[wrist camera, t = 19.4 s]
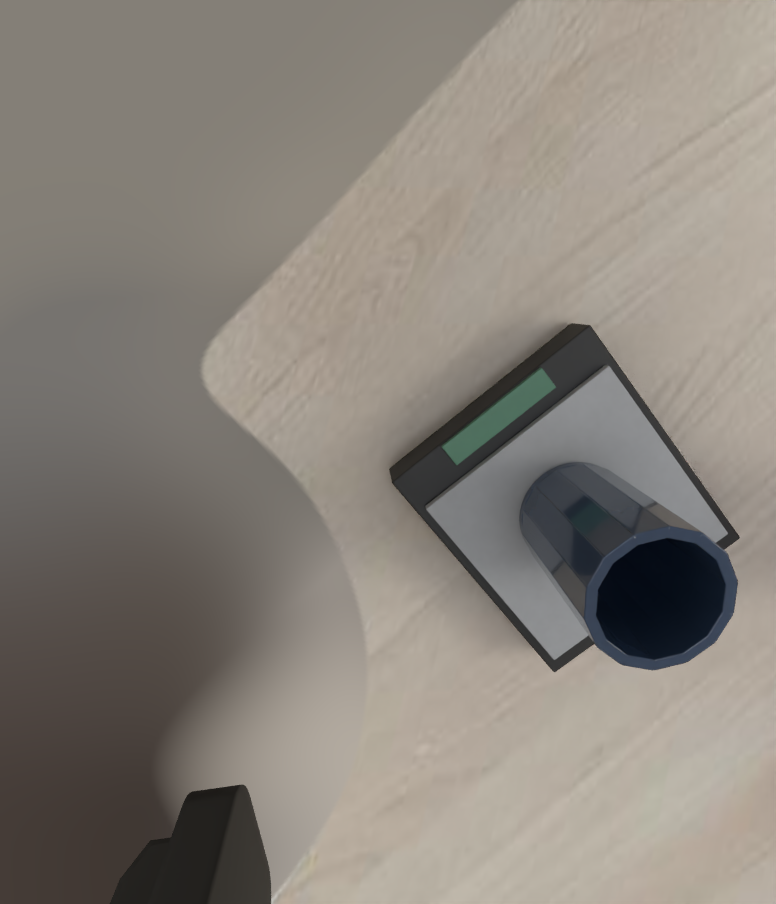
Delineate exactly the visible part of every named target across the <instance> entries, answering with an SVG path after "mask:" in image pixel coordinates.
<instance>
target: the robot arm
mask: <svg viewBox="0 0 776 904" xmlns="http://www.w3.org/2000/svg"><path fill="white" fill-rule="evenodd" d="M110 904H271V880H270V871H269V866H268V861H267V857H266V854H265V850H264V846H263V843H262V839H261V835H260V831H259V828H258V824H257V821H256V817H255V813H254V809H253V806H252V802H251V798H250V795H249V792H248V790H247V788H246V786H244V785H236V786H229V787H222V788H216V789H208V790H201V791H194V792H191V793H189V794H188V795H187V797H186V799H185V801H184V803H183V806H182V808H181V811H180V814H179V817H178V820H177V822H176V825H175V828H174V831H173V834H172V837H171V838H165V839H158V840H151V841H150V842H149V843H148V844H147V845H146V847H145V848H144V849H143V851H142V852H141V853H140V854H139V856H138V857H137V858H136V860H135V861H134V862H133V863H132V865H131V866H130V867H129V868H128V870H127V871H126V872H125V874H124V875H123V876H122V877H121V879H120V881H119V883H118V886H117V888H116V890H115V893H114V895H113V897H112V900H111V902H110Z"/></svg>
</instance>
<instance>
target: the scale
mask: <svg viewBox="0 0 776 904" xmlns="http://www.w3.org/2000/svg"><path fill="white" fill-rule="evenodd" d="M571 462H587V463H592V464H596V465H599V466H601V467H603V468H606V469H608V470H610V471H611V472H613V473H614V474H616V475H617V476H619V477H620V478H622V479H623V480H625V481H626V482H628V483H629V484H631V485H632V486H634V487H635V488H637V489H638V490H640V491H641V492H643V493H644V494H646V495H647V496H649V497H650V498H652V499H653V500H655V501H656V502H658V503H659V504H661V505H662V506H664V507H665V508H667V509H668V510H670V511H671V512H673V513H674V514H676V515H677V516H679V517H680V518H682V519H683V520H685V521H686V522H688V523H689V524H691V525H692V526H694V527H695V528H697V529H698V530H700V531H701V532H703V533H704V534H705V535H707V536H708V537H709V538H710V539H711V540H713V541H714V542H715V543H716V544H718V545H719V546H720V547H721V548H722V549H726V548H727V547H728V546H730V545H731V544H732V543H734V542H735V541H737V540H738V539H739V536H738V534H737V533H736V531H735V530H734V529H733V527H732V526H731V524H730V523H729V521H728V520H727V519H726V517H725V516H724V514H723V513H722V511H721V510H720V509H719V507H718V506H717V504H716V503H715V502H714V500H713V499H712V497H711V496H710V494H709V493H708V492H707V490H706V489H705V487H704V486H703V485H702V483H701V482H700V480H699V479H698V477H697V476H696V475H695V473H694V472H693V470H692V469H691V468H690V466H689V465H688V463H687V462H686V460H685V459H684V458H683V456H682V455H681V453H680V452H679V451H678V449H677V448H676V446H675V445H674V443H673V442H672V441H671V439H670V438H669V436H668V435H667V434H666V432H665V431H664V429H663V428H662V426H661V425H660V424H659V422H658V421H657V419H656V418H655V417H654V415H653V414H652V412H651V411H650V409H649V408H648V407H647V405H646V404H645V402H644V401H643V400H642V398H641V397H640V395H639V394H638V392H637V391H636V390H635V388H634V387H633V385H632V384H631V382H630V381H629V380H628V378H627V377H626V375H625V374H624V373H623V371H622V370H621V368H620V367H619V365H618V364H617V363H616V361H615V360H614V358H613V357H612V356H611V354H610V353H609V351H608V350H607V348H606V347H605V346H604V344H603V343H602V341H601V340H600V339H599V337H598V336H597V334H596V333H595V331H594V330H593V329H592V327H591V326H590V325H582V324H573V323H572V324H570V325H569V326H568V327H567V328H565V329H564V330H563V331H562V332H560V333H559V334H558V335H556V336H555V337H554V338H553V339H551V340H550V341H549V342H548V343H546V344H545V345H544V346H543V347H541V348H540V349H539V350H538V351H536V352H535V353H534V354H533V355H531V356H530V357H529V358H528V359H526V360H525V361H524V362H523V363H521V364H520V365H519V366H518V367H516V368H515V369H514V370H513V371H511V372H510V373H509V374H508V375H506V376H505V377H504V378H503V379H501V380H500V381H499V382H498V383H496V384H495V385H494V386H493V387H491V388H490V389H489V390H488V391H486V392H485V393H484V394H483V395H481V396H480V397H479V398H478V399H476V400H475V401H474V402H473V403H471V404H470V405H469V406H468V407H466V408H465V409H464V410H463V411H461V412H460V413H459V414H458V415H456V416H455V417H454V418H453V419H451V420H450V421H449V422H448V423H446V424H445V425H444V426H443V427H441V428H440V429H439V430H438V431H436V432H435V433H434V434H432V435H431V436H430V437H429V438H427V439H426V440H425V441H424V442H422V443H421V444H420V445H419V446H417V447H416V448H415V449H414V450H412V451H411V452H410V453H409V454H407V455H406V456H405V457H404V458H402V459H401V460H400V461H399V462H397V463H396V464H395V465H394V466H392V467H391V468H390V469H389V470H390V474H391V479H392V483H393V485H394V486H395V487H396V488H397V489H398V490H399V492H400V493H401V494H402V495H403V496H404V497H405V499H406V500H407V501H408V502H409V503H410V504H411V506H412V507H413V508H414V509H415V510H416V511H417V513H418V514H419V515H420V516H421V517H422V518H423V520H424V521H425V522H426V523H427V524H428V525H429V527H430V528H431V529H432V530H433V531H434V533H435V534H436V535H437V536H438V537H439V538H440V540H441V541H442V542H443V543H444V544H445V545H446V547H447V548H448V549H449V550H450V551H451V552H452V554H453V555H454V556H455V557H456V558H457V559H458V561H459V562H460V563H461V564H462V565H463V566H464V568H465V569H466V570H467V571H468V572H469V573H470V575H471V576H472V577H473V578H474V579H475V581H476V582H477V583H478V584H479V585H480V586H481V588H482V589H483V590H484V591H485V592H486V593H487V595H488V596H489V597H490V598H491V599H492V600H493V602H494V603H495V604H496V605H497V606H498V607H499V609H500V610H501V611H502V612H503V613H504V614H505V616H506V617H507V618H508V619H509V620H510V621H511V623H512V624H513V625H514V626H515V627H516V628H517V630H518V631H519V632H520V633H521V634H522V636H523V637H524V638H525V639H526V640H527V641H528V643H529V644H530V645H531V646H532V647H533V648H534V650H535V651H536V652H537V653H538V654H539V655H540V657H541V658H542V659H543V660H544V661H545V662H546V664H547V665H548V666H549V667H550V668H551V669H552V671H554V672H556V671H557V670H559V669H560V668H561V667H563V666H564V665H565V664H567V663H568V662H570V661H571V660H572V659H574V658H575V657H577V656H578V655H579V654H581V653H582V652H583V651H585V650H586V649H588V648H589V647H590V646H592V645H593V644H594V642H593V641H592V639H591V638H590V637H589V635H588V634H587V632H586V631H585V629H584V628H583V627H582V625H581V624H580V622H579V621H578V620H577V618H576V617H575V615H574V614H573V612H572V611H571V610H570V608H569V607H568V605H567V604H566V602H565V601H564V600H563V598H562V597H561V595H560V594H559V592H558V591H557V590H556V588H555V587H554V585H553V584H552V582H551V581H550V580H549V578H548V577H547V575H546V574H545V573H544V571H543V570H542V568H541V567H540V565H539V564H538V563H537V561H536V560H535V558H534V557H533V555H532V554H531V552H530V550H529V548H528V546H527V545H526V543H525V541H524V539H523V537H522V534H521V530H520V523H519V516H520V509H521V504H522V502H523V499H524V497H525V495H526V493H527V491H528V490H529V488H530V487H531V485H532V484H533V483H534V482H535V481H536V480H537V479H538V478H539V477H540V476H541V475H542V474H544V473H545V472H547V471H548V470H550V469H552V468H554V467H556V466H559V465H562V464H566V463H571Z"/></svg>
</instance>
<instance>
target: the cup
mask: <svg viewBox="0 0 776 904" xmlns="http://www.w3.org/2000/svg"><path fill="white" fill-rule="evenodd" d="M519 523H520V530H521V534H522V537H523V539H524V541H525V543H526V545H527V546H528V548H529V550H530V552H531V554H532V555H533V557H534V558H535V560H536V561H537V563H538V564H539V565H540V567H541V568H542V570H543V571H544V573H545V574H546V575H547V577H548V578H549V580H550V581H551V582H552V584H553V585H554V587H555V588H556V590H557V591H558V592H559V594H560V595H561V597H562V598H563V600H564V601H565V602H566V604H567V605H568V607H569V608H570V610H571V611H572V612H573V614H574V615H575V617H576V618H577V620H578V621H579V622H580V624H581V625H582V627H583V628H584V629H585V631H586V632H587V634H588V635H589V637H590V638H591V639H592V641H593V642H594V644H595V645H596V646H597V648H599V649H600V650H602V651H603V652H604V653H606V654H607V655H608V656H610V657H611V658H612V659H614V660H615V661H617V662H618V663H619V664H621V665H624V666H630V667H636V668H642V669H648V670H658V669H662V668H666V667H670V666H674V665H679V664H683V663H686V662H688V661H690V660H691V659H693V658H694V657H695V656H697V655H698V654H700V653H701V652H703V651H704V650H705V649H707V648H708V647H710V646H711V645H712V644H714V643H715V642H716V641H717V639H718V637H719V636H720V634H721V633H722V631H723V630H724V628H725V626H726V625H727V623H728V622H729V620H730V619H731V617H732V616H733V613H734V607H735V600H736V593H737V585H738V582H737V581H738V580H737V578H736V575H735V572H734V570H733V567H732V564H731V562H730V559H729V556H728V554H727V553H726V551H725V550H724V549H722V548H721V547H720V546H719V545H718V544H716V543H715V542H714V541H713V540H711V539H710V538H709V537H708V536H707V535H705V534H704V533H703V532H701V531H700V530H698V529H697V528H695V527H694V526H692V525H691V524H689V523H688V522H686V521H685V520H683V519H682V518H680V517H679V516H677V515H676V514H674V513H673V512H671V511H670V510H668V509H667V508H665V507H664V506H662V505H661V504H659V503H658V502H656V501H655V500H653V499H652V498H650V497H649V496H647V495H646V494H644V493H643V492H641V491H640V490H638V489H637V488H635V487H634V486H632V485H631V484H629V483H628V482H626V481H625V480H623V479H622V478H620V477H619V476H617V475H616V474H614V473H613V472H611V471H610V470H608V469H606V468H603V467H601V466H599V465H596V464H592V463H587V462H571V463H566V464H562V465H559V466H556V467H554V468H552V469H550V470H548V471H547V472H545V473H544V474H542V475H541V476H540V477H539V478H538V479H537V480H536V481H535V482H534V483H533V484H532V485H531V487H530V488H529V490H528V491H527V493H526V495H525V497H524V499H523V502H522V504H521V509H520V516H519Z"/></svg>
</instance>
